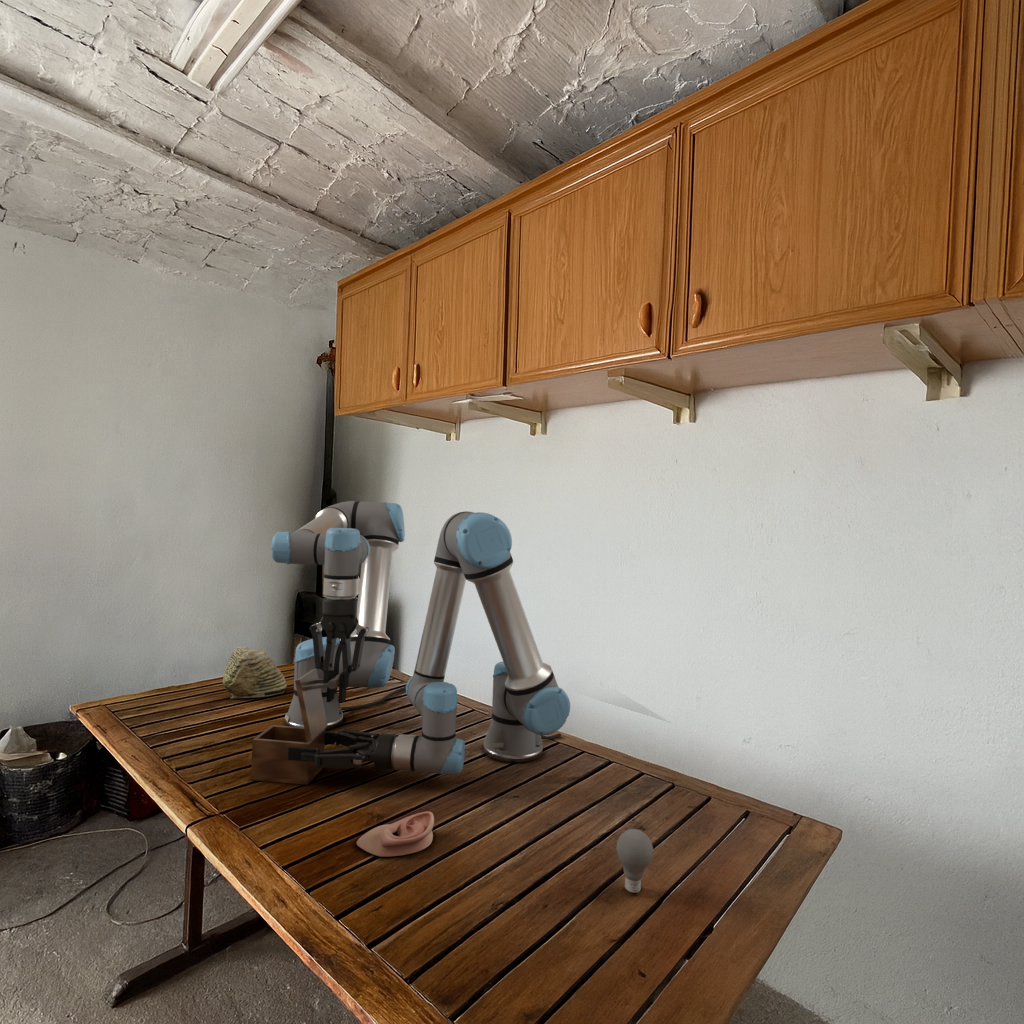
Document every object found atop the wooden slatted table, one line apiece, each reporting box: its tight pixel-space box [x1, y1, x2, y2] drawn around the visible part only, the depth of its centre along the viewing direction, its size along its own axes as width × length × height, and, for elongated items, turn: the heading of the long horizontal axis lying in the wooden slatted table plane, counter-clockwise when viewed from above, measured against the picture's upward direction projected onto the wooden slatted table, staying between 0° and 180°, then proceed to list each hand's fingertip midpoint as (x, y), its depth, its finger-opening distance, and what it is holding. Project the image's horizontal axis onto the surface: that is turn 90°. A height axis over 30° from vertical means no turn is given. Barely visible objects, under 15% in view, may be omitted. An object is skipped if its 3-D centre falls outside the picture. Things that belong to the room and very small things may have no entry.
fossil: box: [222, 646, 288, 699], centre depth 198 cm, size 9×18×15 cm, turn 132°
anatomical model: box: [356, 811, 435, 858], centre depth 118 cm, size 13×4×12 cm
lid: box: [295, 669, 340, 742], centre depth 143 cm, size 14×9×8 cm
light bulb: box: [615, 828, 654, 894], centre depth 106 cm, size 6×6×10 cm
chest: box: [250, 724, 326, 786], centre depth 144 cm, size 13×9×9 cm
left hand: (336, 700), depth 143 cm, fingers closed on lid, 2 cm apart
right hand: (298, 744), depth 144 cm, fingers closed on chest, 9 cm apart
